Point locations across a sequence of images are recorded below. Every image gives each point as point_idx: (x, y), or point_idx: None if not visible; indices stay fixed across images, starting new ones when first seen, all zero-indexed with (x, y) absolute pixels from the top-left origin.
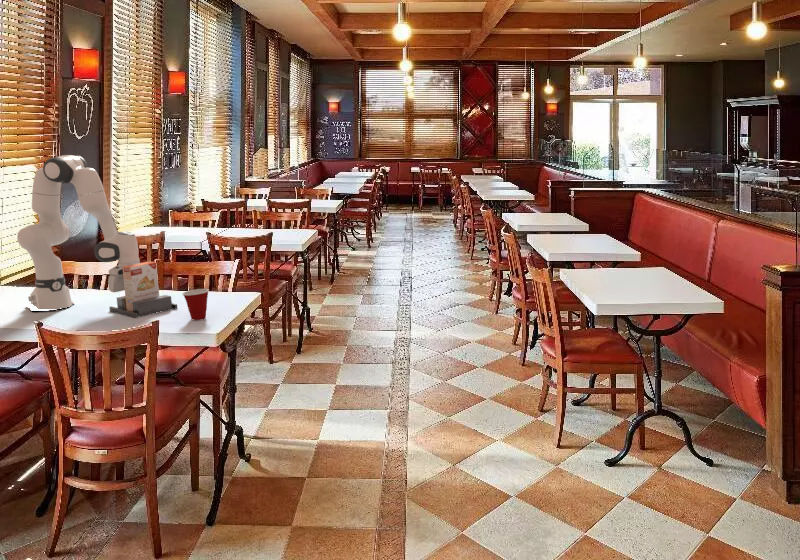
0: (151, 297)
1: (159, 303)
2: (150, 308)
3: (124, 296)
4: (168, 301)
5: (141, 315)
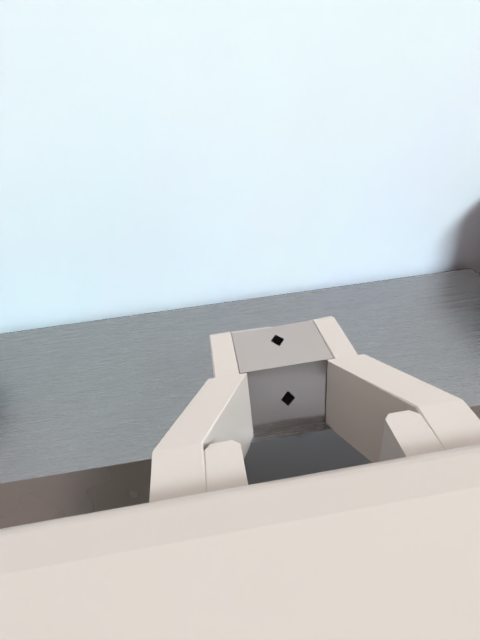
0: None
1: None
2: None
3: (71, 497)
4: None
5: None
